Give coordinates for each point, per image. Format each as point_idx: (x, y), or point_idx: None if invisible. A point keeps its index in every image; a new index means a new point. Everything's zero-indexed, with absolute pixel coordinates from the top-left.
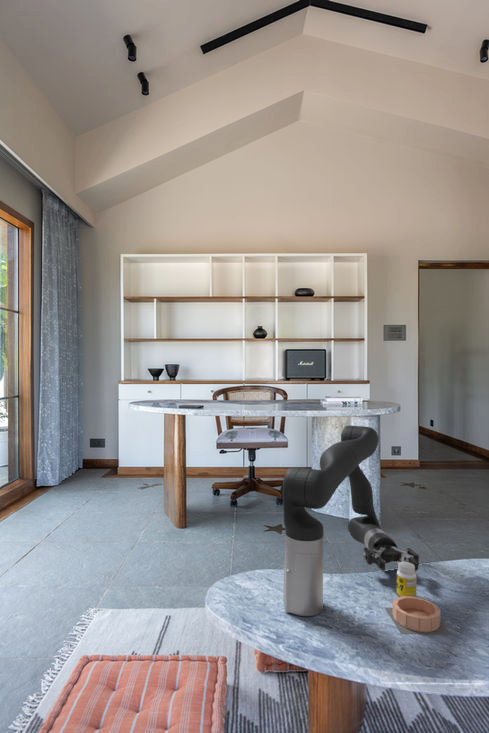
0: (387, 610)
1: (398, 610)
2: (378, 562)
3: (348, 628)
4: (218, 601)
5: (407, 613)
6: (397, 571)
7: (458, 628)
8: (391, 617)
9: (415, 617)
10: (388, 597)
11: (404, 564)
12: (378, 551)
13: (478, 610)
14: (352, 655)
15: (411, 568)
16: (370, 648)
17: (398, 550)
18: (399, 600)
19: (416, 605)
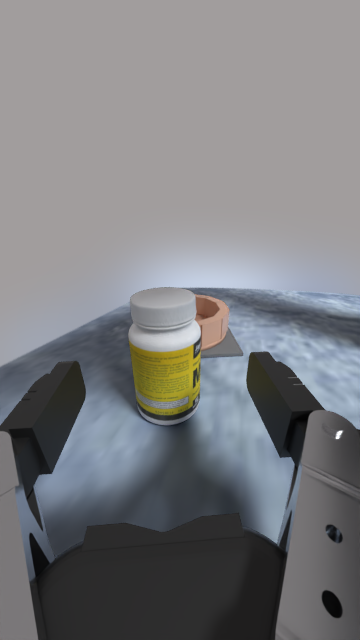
0: (236, 346)
1: (220, 300)
2: (291, 370)
3: (300, 317)
4: None
5: (206, 297)
6: (197, 329)
7: (118, 326)
8: (229, 332)
9: (196, 294)
10: (227, 400)
11: (170, 295)
12: (353, 494)
13: (9, 366)
14: (279, 295)
15: (155, 289)
16: (260, 300)
17: (1, 601)
18: (212, 317)
19: None
